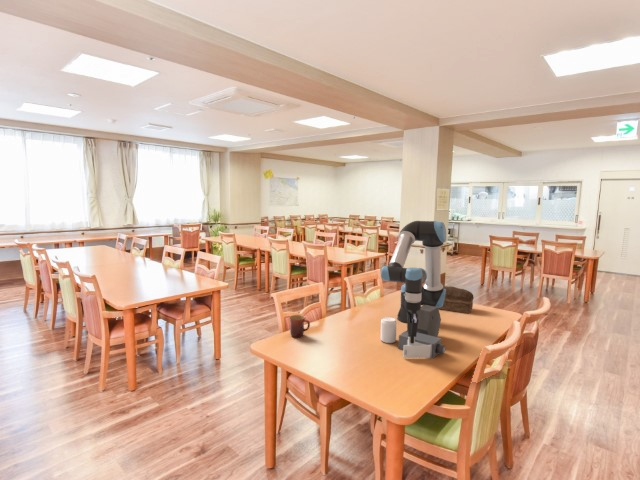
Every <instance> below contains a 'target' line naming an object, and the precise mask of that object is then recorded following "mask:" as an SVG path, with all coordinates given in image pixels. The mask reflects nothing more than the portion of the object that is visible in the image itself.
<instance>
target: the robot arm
mask: <svg viewBox="0 0 640 480" xmlns="http://www.w3.org/2000/svg"><path fill="white" fill-rule="evenodd" d="M397 236H398V241H397V244H396V245H395V248H394V251H393V253H392V255H391V258H390V261H389V263H388V265H383V266H382V267H381V268H380V278H381V280H382V281H385V282H386V281H387V282H392V283H402V285H401V287H400V307H399V310H398V312H397V313H398V314H397V317H396V318H397V319H396V320H397V321H400V322H401V323H405V324H406V327H407V328H406V331H407V332H408V345H415V337H416V334H417V325H418V321H419V320H418V319H417V317H418V314H417V311H418V310H420V309H421V306H423V305H429V306H434V307H439V308H440V307H442V306H443V304H444V300H445V295H446V289H443V286H444V285H443V283H441V273H442V272H441V263H442V262H441V260H442V259H441V255H442V254H441V250H442V249H441V248H442V246H444V243H446V242H447V228H446V224H445V223H444V222H443V221H437V220H414V221H411V222H409V223H407V224H406V225H405V226H403V228H402V229H401V230H400V231H399V234H398V235H397ZM416 241H417V242H422V243H421V244H422V246H423V247H424V255H425V256H424V260H425V261H424V262H425V263H424V264H425V265H424V268H422V267H404V266H405V264H406V261H407V258H408V256H409V253H410V250H411V247H412V245H413V244H414V243H415V242H416Z"/></svg>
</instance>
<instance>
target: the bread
mask: <svg viewBox="0 0 640 480" xmlns="http://www.w3.org/2000/svg"><path fill="white" fill-rule="evenodd" d="M443 289H446V295H445V300H444V304H443V306H442V307H440V308H439V307H438V309H439V310H443V311H450V312H458V313H465V314H470V313H471V312H472V310H473V305H474V297H475V296H474V294H473V293H472V292H471V291H469V290H468V289H464V288H458V287H456V286H448V285H445V286H444V285H443Z"/></svg>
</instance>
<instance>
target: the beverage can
mask: <svg viewBox="0 0 640 480" xmlns="http://www.w3.org/2000/svg"><path fill="white" fill-rule="evenodd" d="M380 341H381V342H383V343H385V344H393V343H395V342H396V341H397V319H396V318H394V317H393V316H392V317H391V316H385V317H384V316H383V317H382V318H381V320H380Z"/></svg>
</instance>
